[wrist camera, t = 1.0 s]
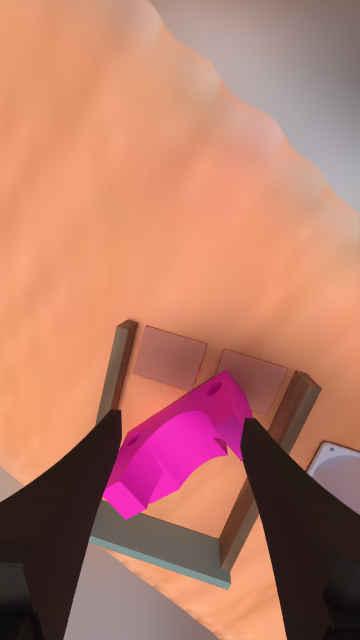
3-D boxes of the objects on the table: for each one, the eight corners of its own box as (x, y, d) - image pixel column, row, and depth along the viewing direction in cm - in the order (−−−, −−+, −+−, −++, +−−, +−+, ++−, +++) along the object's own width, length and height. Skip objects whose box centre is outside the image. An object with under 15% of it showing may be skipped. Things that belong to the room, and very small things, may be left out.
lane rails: (306, 373, 23) (321, 388, 20) (227, 542, 29) (229, 572, 26) (127, 319, 24) (116, 326, 21) (87, 495, 30) (74, 519, 27)
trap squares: (286, 367, 23) (287, 369, 23) (266, 413, 24) (267, 415, 24) (146, 325, 24) (145, 326, 23) (134, 372, 25) (133, 373, 25)
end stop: (227, 542, 29) (231, 583, 25) (224, 548, 30) (227, 589, 26) (87, 495, 30) (69, 528, 26) (85, 501, 30) (68, 535, 26)
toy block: (159, 466, 28) (142, 537, 20) (128, 432, 27) (99, 492, 20) (258, 411, 24) (281, 472, 17) (225, 369, 23) (234, 415, 16)
